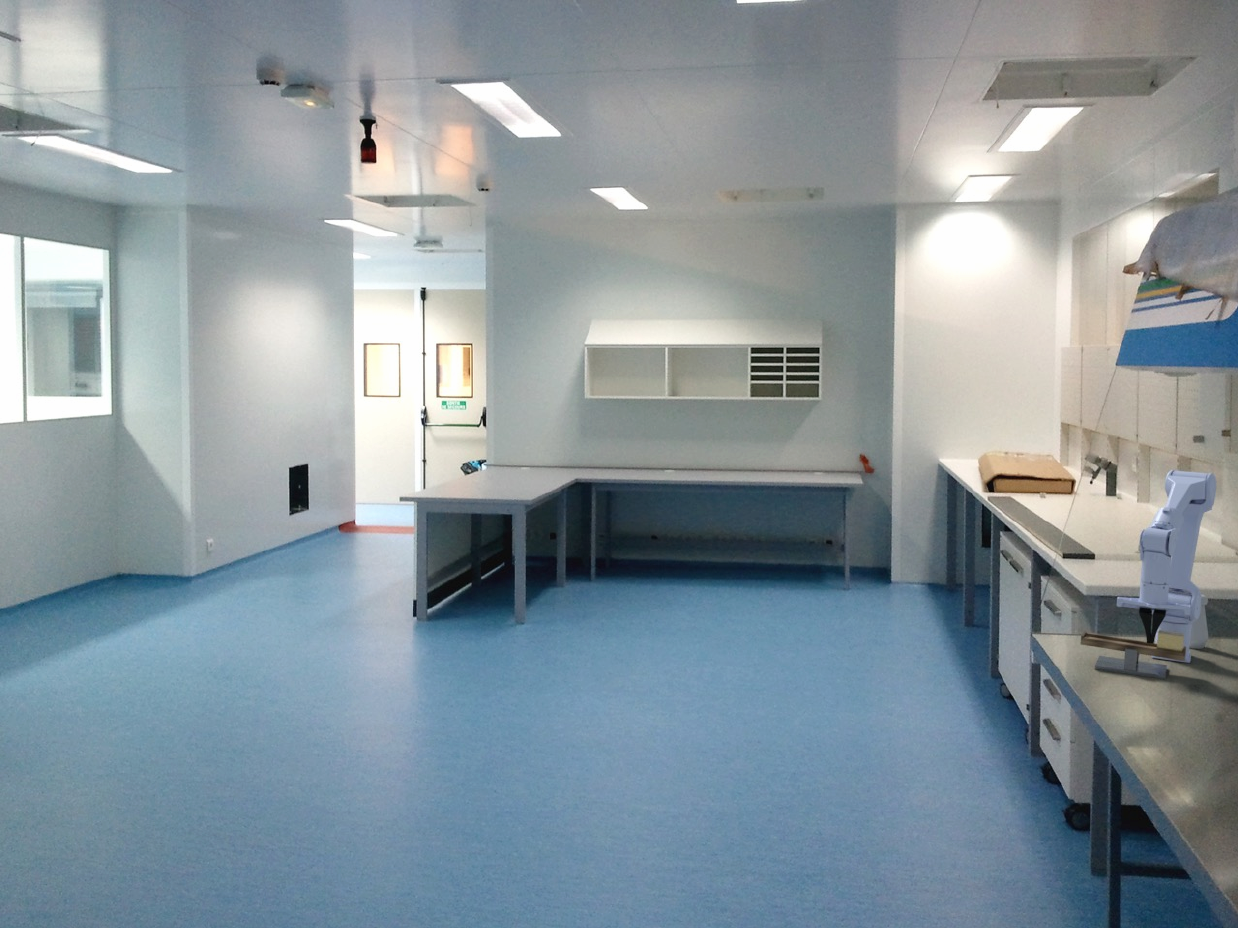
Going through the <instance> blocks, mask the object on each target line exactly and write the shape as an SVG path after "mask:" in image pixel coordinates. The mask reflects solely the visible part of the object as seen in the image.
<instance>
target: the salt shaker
mask: <svg viewBox="0 0 1238 928" xmlns="http://www.w3.org/2000/svg"><path fill="white" fill-rule="evenodd" d="M1191 595H1192V594H1191ZM1208 602H1209V599H1208V596H1206V595H1205V594H1202V596H1201V611H1200V615H1199V618H1198V619H1197V620H1196V621H1195V622H1191V634H1190V647H1189V649H1194V650H1195V649H1197V650H1201V649H1204V648H1205V646H1206V644H1207V643H1208V642H1209V638H1210V637H1209V629H1208V624H1207V623H1208V622H1207V615H1206V606H1207V605H1208Z"/></svg>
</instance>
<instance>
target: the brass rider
mask: <svg viewBox="0 0 1238 928" xmlns="http://www.w3.org/2000/svg"><path fill="white" fill-rule="evenodd" d="M1183 640H1184V633H1177V632H1170V631H1164V630H1159V632H1158V640H1157V649H1162V650H1169V651H1175V652H1181V653H1182V649H1183Z"/></svg>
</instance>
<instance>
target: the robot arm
mask: <svg viewBox="0 0 1238 928" xmlns="http://www.w3.org/2000/svg"><path fill="white" fill-rule="evenodd" d="M1164 484H1165V485H1164V490H1165V493H1166V496H1167V499H1166V503H1165V506H1162V507H1160V508H1159V509H1158V510H1156V513H1155V516H1154V517H1153V519H1152V521H1151V523H1150V525H1149V526H1148V527H1146V529H1142V530H1141V533H1140V536H1139V545H1138V546H1139V552H1140V555H1139V558H1140V561H1141V568H1140V569H1141V571H1140V585H1139V597H1124V596H1123V597H1122V596H1117V598H1116V607H1118V608H1123V607H1124V608H1131V609H1139V611H1138V614H1139V616H1140V619H1141V622H1142V625H1143V627H1144V628H1143V629H1144V632H1145V636H1146V642H1147V643H1152V644H1154V643H1157V640H1158V632H1159V630H1164V631H1170V632H1177V633H1184V640H1183V648H1184V646H1186V654H1185V661H1181V660H1174V659H1168V658H1162V657H1156V656H1151V658H1152V659H1160V660H1165V661H1166V660H1167V661H1174V662H1179V663H1187V664H1189V663H1191V659H1192V658H1191V657H1192V652H1190V648H1189V647H1190V634H1191V622H1195V621H1196V620H1197V619H1198V618H1199V615H1200V611H1201V596H1202V595H1203V594H1202V592H1201V589H1200V588H1199V586H1197V585H1196V584H1195V583H1194V582H1193V581H1192V580H1191V579H1192V574H1193V567H1194V563H1195V562H1194V561H1195V558H1196V557H1195V556H1196V551H1197V546H1198V540H1199V536H1200V529H1201V525H1202V524H1201V523H1202V519H1203V517H1204V514H1206V513H1207V512H1209V511H1212V510H1213V506H1214V504H1215V503H1214V502H1215V499H1216V498H1215V497H1216V492H1217V477H1216V475H1215V474H1214V473H1213V472H1208V473H1207V472H1199V471H1198V472H1197V471H1196V472H1195V471H1183V470H1176V469H1171V470H1169V472H1168V473H1167V474H1166V476H1165V482H1164ZM1191 594H1192V595H1191Z"/></svg>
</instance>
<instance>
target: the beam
mask: <svg viewBox="0 0 1238 928" xmlns="http://www.w3.org/2000/svg"><path fill="white" fill-rule="evenodd" d="M1079 644H1080V645H1081V646H1089V647H1095V648H1101V649H1105V650H1106V649H1107V650H1113V651H1119V652H1125V648H1129V649H1136V650H1137V654H1139V655H1145V656H1151V657H1152V656H1156V657H1162V658H1168V659H1174V660H1181V661H1185V654H1186V646H1184V648H1183V649H1182V653H1181V652H1175V651H1169V650H1162V649H1157V643H1155V642H1154V644H1152V643H1147V641H1144V640H1136V639H1129V638H1125V637H1124V638H1123V637H1117V636H1110V635H1104V634H1099V633H1092V632H1087V630H1083V632H1082V634H1081V635H1080V643H1079Z"/></svg>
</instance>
